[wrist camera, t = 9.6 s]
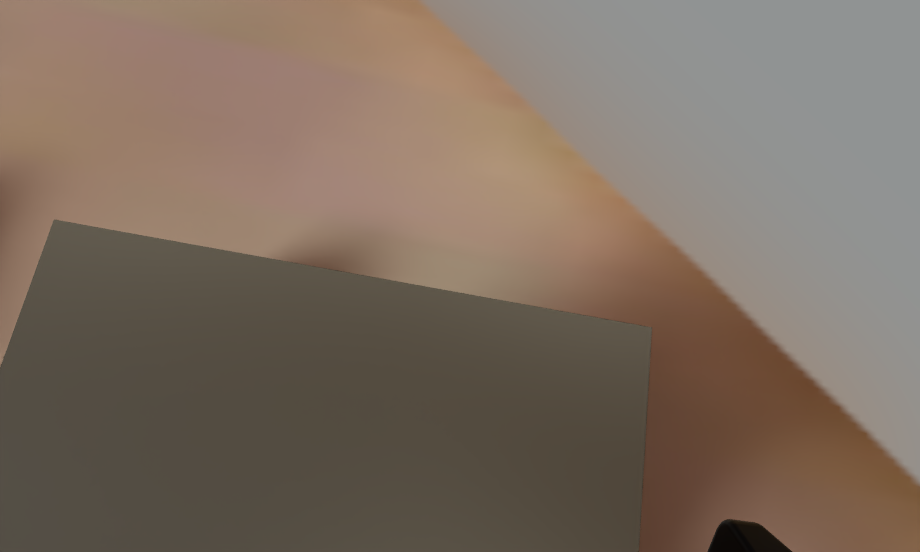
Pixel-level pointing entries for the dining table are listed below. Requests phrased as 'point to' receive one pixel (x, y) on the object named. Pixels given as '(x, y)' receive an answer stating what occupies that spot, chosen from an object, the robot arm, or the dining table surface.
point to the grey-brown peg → (307, 411)
